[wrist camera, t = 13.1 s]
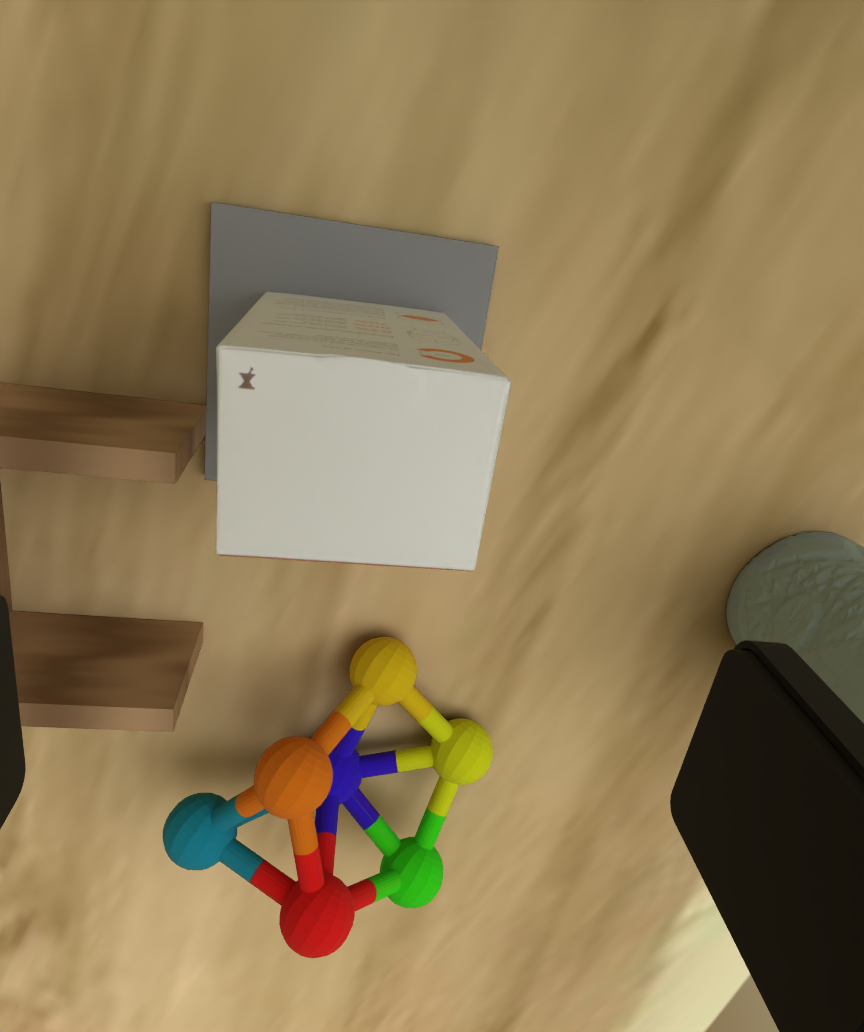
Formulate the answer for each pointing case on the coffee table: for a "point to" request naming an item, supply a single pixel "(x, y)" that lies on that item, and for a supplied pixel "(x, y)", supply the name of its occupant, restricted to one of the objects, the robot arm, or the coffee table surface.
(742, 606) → the blue-grey cup
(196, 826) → the molecular model
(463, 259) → the coaster
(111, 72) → the coffee table surface
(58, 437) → the slot
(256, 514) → the small box
